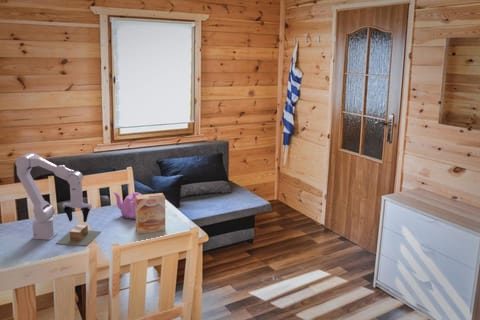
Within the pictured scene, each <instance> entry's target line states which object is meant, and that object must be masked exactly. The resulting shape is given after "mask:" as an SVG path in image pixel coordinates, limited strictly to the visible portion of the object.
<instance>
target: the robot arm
mask: <svg viewBox="0 0 480 320" xmlns="http://www.w3.org/2000/svg"><path fill="white" fill-rule="evenodd" d="M15 166H16V175H17V177H18V179H19V181H20V184H22V186H23V188H24V190H25V191H26V193H27V196H28V197H29V199H30V202H31V203H32V205H33V210H32V212H33V213H34V219H35V220H33V222H32V239H33V240H35V239H36V240H48V241H49V240H52V239H53V238H54V237H56V236H57V235H58V232H54V231H55V229H54V220H53V219H54V218H53V216H54V215H55V209H54V206H52V205H51V204H50V203H49V201H46V200H45V198H44V197H43V195H42V193H41V192H40V191H41V190H40V189H39V188H38V186H37V184H36V182H35V180H34V178H33V177H32V174H31V171H32V169H33V168H35V167H40V168H42V169H45V170H47V171H50V172H53V173H54V176H56V177H58V178H60V179H63V180H64V181H66V182H67V183H68V184H69V191H70V193H69V194H70V202H62V205H61V206H62V208H63V211H64V213H65V214H66V216H67V219H68V222H72V221H73V209H76V208H77V209H82V210H81V211H82V218H83V220H82V221H83V223H86V222H87V221H88V216H89V213H90V210H91V209H93V206H92V204H91V203H86V202H84V200H83V199H84V198H83V196H84V195H83V182H82V181H83V180H84V175H83V173H82V172H81V171H80V170H74V169H70V168H68V167H66V165H65V164H62V165H61V164H60V165H56V164H55V163H52V162H50V161H49V160H47V159H45V158H43V157H41V156H40V155H39V154H37V153H34V152H30V151H29V152H27V153H26V154H25V153H24V154H23V155H21V156H19V157H17V159H16V161H15Z"/></svg>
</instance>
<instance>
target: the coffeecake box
mask: <svg viewBox="0 0 480 320" xmlns="http://www.w3.org/2000/svg"><path fill="white" fill-rule="evenodd" d="M135 213H136V219H135V230H136V233H137V235H139V234H148V233H157V232H164V231H166V196H165V195H164V193H163V192H159V193H158V192H157V193H147V194H142V195H135Z"/></svg>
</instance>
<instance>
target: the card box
mask: <svg viewBox="0 0 480 320" xmlns="http://www.w3.org/2000/svg"><path fill="white" fill-rule="evenodd" d="M88 226H89V225H88V224H85V223H84V224H83V223H82V224H81V223H78V224H77V225H76V226H74V227H73V228H72V229H71V230H70V231H69V232H70V241H81V240H82V239H83V238H84V237H85V236H86V235H87V234H88V231H89V227H88Z"/></svg>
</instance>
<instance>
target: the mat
mask: <svg viewBox="0 0 480 320" xmlns="http://www.w3.org/2000/svg"><path fill="white" fill-rule="evenodd" d="M100 233H102V231H98V230H88V234H87V235H86V236H85V237H84V238H83V239H82V240H81V241H70V231H68V232H67V233H66V234H65V235H64V236H63V237H61V238H60V239H59V240H58V241H57V242H55V244H56V245H64V246H77V247H79V246H80V247H81V246H82V247H87V246H88V244H89V243H90V244H91V243H92V242H93V241H94V240H95V239H96V238H97V237H98V236H99V235H100ZM90 244H89V245H90Z"/></svg>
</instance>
